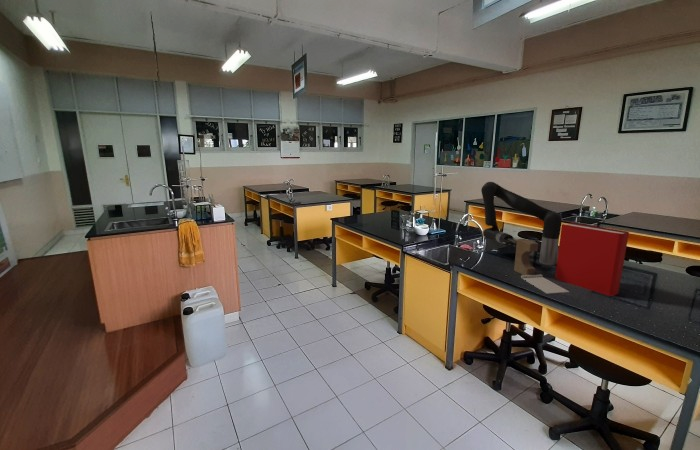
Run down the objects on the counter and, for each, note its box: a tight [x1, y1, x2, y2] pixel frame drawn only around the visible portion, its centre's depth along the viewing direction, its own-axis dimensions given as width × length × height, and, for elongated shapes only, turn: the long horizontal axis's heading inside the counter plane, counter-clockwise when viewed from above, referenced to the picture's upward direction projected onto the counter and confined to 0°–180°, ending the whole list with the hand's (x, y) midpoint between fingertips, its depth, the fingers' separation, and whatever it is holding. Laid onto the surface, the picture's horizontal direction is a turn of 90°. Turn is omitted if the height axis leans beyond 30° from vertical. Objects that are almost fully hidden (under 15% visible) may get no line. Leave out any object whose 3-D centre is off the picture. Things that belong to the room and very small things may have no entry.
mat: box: [520, 273, 570, 295], centre depth 174 cm, size 12×22×2 cm, turn 6°
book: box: [554, 222, 630, 297], centre depth 169 cm, size 27×8×32 cm, turn 30°
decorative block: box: [513, 238, 539, 275], centre depth 189 cm, size 11×6×20 cm, turn 12°
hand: (520, 246), depth 193 cm, fingers closed
